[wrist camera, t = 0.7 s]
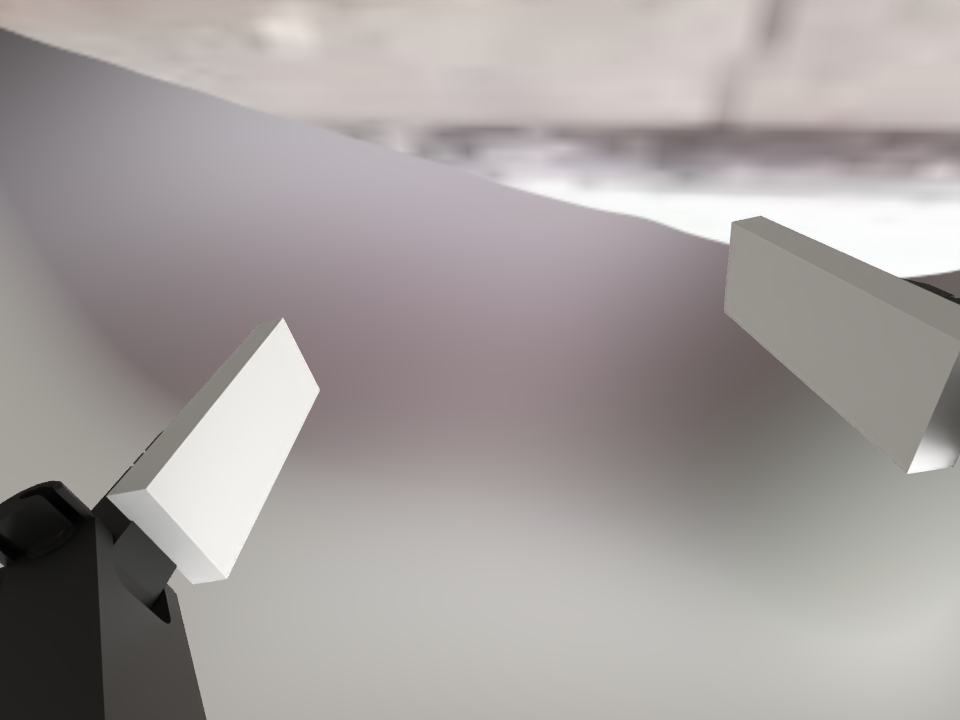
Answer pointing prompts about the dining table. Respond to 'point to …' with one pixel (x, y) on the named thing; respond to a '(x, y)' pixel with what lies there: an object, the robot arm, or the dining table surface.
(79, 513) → the robot arm
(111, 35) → the dining table surface
